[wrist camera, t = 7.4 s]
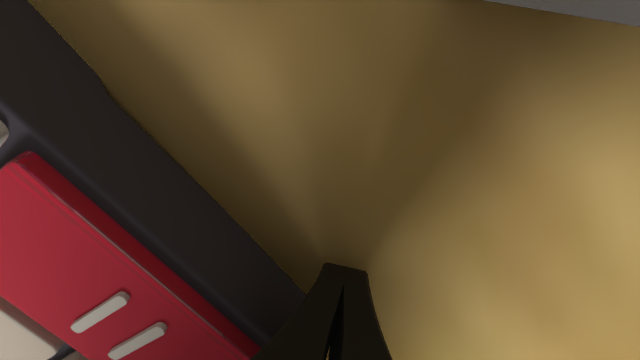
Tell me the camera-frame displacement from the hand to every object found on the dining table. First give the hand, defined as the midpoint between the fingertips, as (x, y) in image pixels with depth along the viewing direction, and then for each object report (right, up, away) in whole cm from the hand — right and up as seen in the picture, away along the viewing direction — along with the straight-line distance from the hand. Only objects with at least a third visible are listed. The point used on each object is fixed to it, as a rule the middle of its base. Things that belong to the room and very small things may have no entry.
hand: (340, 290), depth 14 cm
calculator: (-9, +2, +3) cm, 10 cm away
